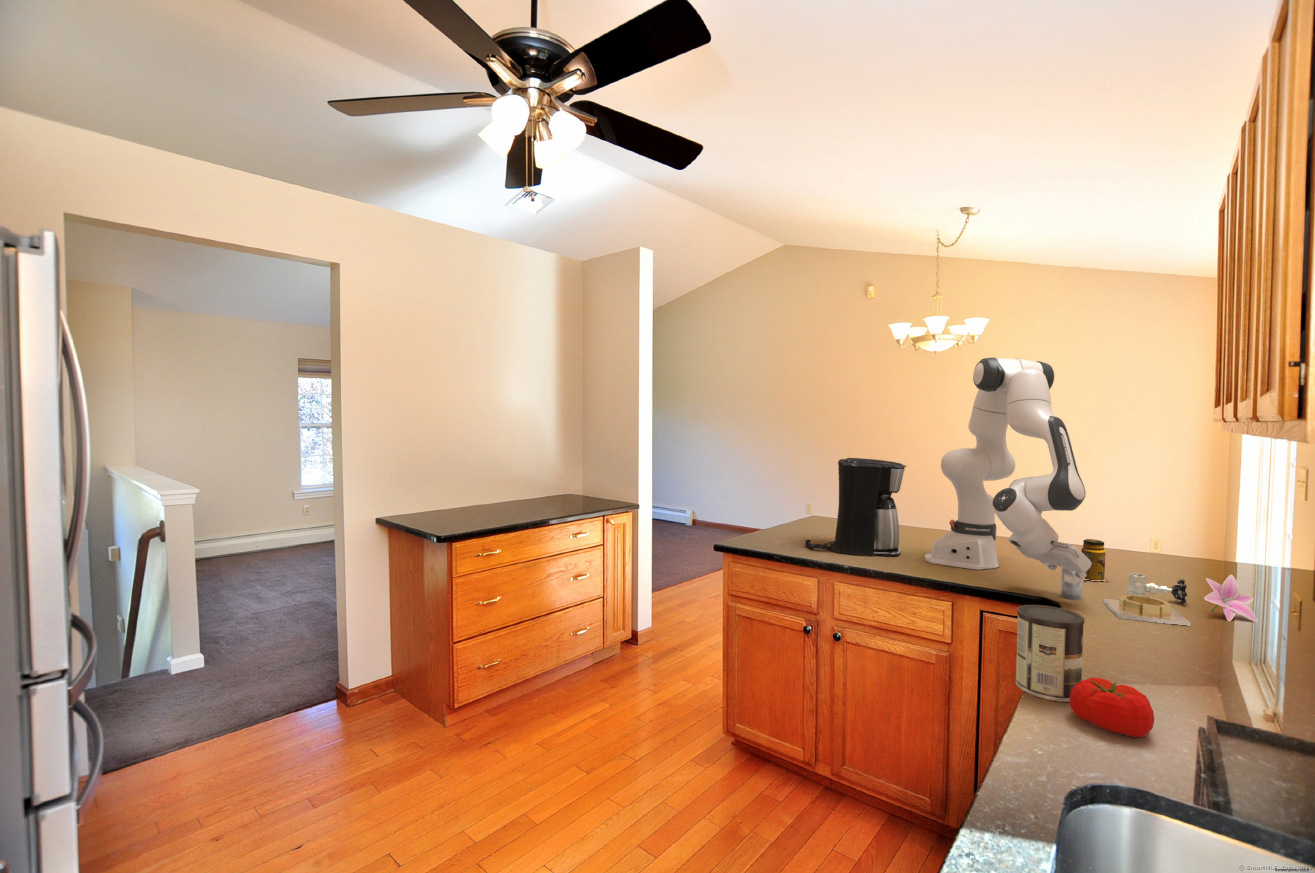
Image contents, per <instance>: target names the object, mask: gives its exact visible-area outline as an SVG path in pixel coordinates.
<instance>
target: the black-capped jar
mask: <svg viewBox="0 0 1315 873" xmlns="http://www.w3.org/2000/svg"><path fill="white" fill-rule="evenodd" d="M1075 573H1076V572H1075V571H1073V570H1069V569H1066V568H1062V567H1061V580H1060V581H1061V582H1060V597H1063V598H1065V599H1068V600H1082V599H1083V597H1082V596H1083V581H1082V579H1081V578H1078V577H1077V576H1076V575H1075Z"/></svg>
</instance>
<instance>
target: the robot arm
mask: <svg viewBox="0 0 1315 873" xmlns="http://www.w3.org/2000/svg"><path fill="white" fill-rule="evenodd" d="M972 380H973V381H972V382H973V384H974V385H975V387H976V389H978V390H977V393H976V396H975V398H974V402H973V405H972V410H971V414H970V418H969V423H968V431H969V432H970V433H971V435H973V436H974V437H975V439H976V441H975V442H976V446H975V448H974V447H973V448H971V447H970V448H967V447H966V448H963V447H962V448H956V449H953V450H950V451H947V452H946V453H944V454H943V456H942V458H941V460H940V461H941V462H940V469H941V471H942V474H943V475H944V476H945V477H946V478H947V479H948V480H949V481H950V482H951V484H952V485H953V487H954V490H955V493H956V497H957V520H955V519H950V520H949V525H950V531H948V532H947V533H945V534H943V535H942V536H940V537H939V538H937V539H936V540H935V541H934V542H933V545H932V548H931V552H927V553H926V554H925V555H924V560H925V561H926V562H927V563H930V564H935V565H941V566H947V567H956V568H963V569H971V570H976V571H977V570H978V571H979V570H986V569H996V568H998V567H1000V564H999V561H998V556H997V549H996V540H997V524H996V517H998V519H999V520H1000V521H1001V524H1003V525H1004V527H1005V528H1006V529H1007V530H1008V531H1010V532H1011V533H1012V534H1010V536H1009V537H1008V539H1007V540H1008V542H1009V543H1010V544H1011V545H1014V547H1015V548H1016V549H1017V550H1018V551H1019V552H1020V553H1021V554H1022V555H1023V556H1025V557H1026V558H1029V559H1033V560H1036V561H1038V562H1039V563H1042V564H1043V565H1045V566H1046V567H1047V569H1049V570H1052V571H1055V570H1056V569H1057V568H1058V567H1060V568H1061V569H1062V568H1066V569H1069V570H1073V571H1075V572H1076V573H1075V575H1076V576H1077V577H1078V578H1081V579H1084V578H1085V577H1086V576H1087V574H1086V573H1085V572H1086V571H1087V570H1088V569H1089V568H1090V567H1091V564H1092V563H1091V561H1090V560H1089V559H1088V558H1087V557H1086V556H1085V555H1084V554H1083V553H1082V552H1081V550H1080V549H1079V548H1077V547H1076V546H1074V545H1073V544H1070V543H1066V542H1061V541H1059V534H1058V533H1057V531H1055V529H1054V528H1053V526H1052V525H1051V524H1050V523H1049V522H1048V521H1047V520H1046V519H1045V518H1043V517H1042V514H1043V512H1050V511H1058V512H1059V511H1060V512H1061V511H1067V512H1068V511H1075V510H1076V509H1078V507H1080V505H1081V504H1082V503H1083V502H1084V500H1085V499H1086V488H1085V485H1084V482H1083V480H1082V478H1081V475H1080V472H1079V470H1078V466H1077V463H1076V458H1075V455H1074V451H1073V447H1072V443H1071V439H1070V435H1069V432H1068V429H1067V427H1066V425H1065V423H1064V421H1063V420H1062V418H1060V417H1057V416H1056V415H1055V414H1054V412H1053V410H1052V398H1051V392H1050V390H1051V388H1052V387H1053V384H1054V381H1055V371H1054V369H1053V367H1052V365H1051V364H1049V363H1046V362H1043V361H1040V360H1037V361H1036V360H1035V361H1034V360H1029V359H1025V358H1024V359H1023V358H1016V357H1015V358H1007V357H1003V358H996V357H993V356H992V357H986V358H985V357H984V358H981V359H980V360H979V361H978V362H977V363H976V365H975V367H974V370H973V376H972ZM1008 426H1009V427H1011V429H1012V430H1013V431H1015V432H1016V433H1018V434H1020V435H1022V436H1025V437H1029V438H1030V437H1031V438H1035V439H1041V440H1044V441H1045V442H1046V444H1047V447H1048V451H1049V456H1050V461H1051V464H1052V472H1051V473H1049V474H1044V475H1037V476H1028V477H1027V476H1026V477H1022V478H1017V479H1015V480H1013V481H1012V482H1011V483H1010V485H1009V486H1008V487H1007V488H1003V489H1001V490H1000V491H998V492H997V493H996V494H995V496H994V497H993V496H992V495H990V494H989V493H987V490H986V488H985V485H984V482H986V481H987V482H990V481H995V482H996V481H999V480H1004V479H1006V478H1009V477H1010V476H1012V475H1013V473H1014V472H1015V469H1016V460H1015V457H1014V455H1013V454H1012V453H1011V452H1010V450H1009V449H1008V445H1007V431H1008Z"/></svg>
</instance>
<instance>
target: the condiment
mask: <svg viewBox="0 0 1315 873" xmlns="http://www.w3.org/2000/svg"><path fill="white" fill-rule="evenodd" d="M1082 542H1083V545H1082V548H1081V550H1080V551H1081V552H1082V553H1083V554H1084V555H1085V556H1086V557H1087V558H1088V559H1089V560H1090V561H1091V563H1092V564H1091V567H1090V568H1089V569H1088V570H1087V571H1086V572H1085V573H1086V574H1087V576H1086V577H1085V579H1089V580H1104V579H1105V572H1106V570H1105V569H1106V550H1105V542H1104V541H1102V540H1099V539H1094V538H1093V539H1092V538H1085V539H1084V540H1082Z"/></svg>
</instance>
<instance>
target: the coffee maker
mask: <svg viewBox="0 0 1315 873" xmlns="http://www.w3.org/2000/svg"><path fill="white" fill-rule="evenodd" d="M837 466H838V510H837V519H836V520H837V521H836V528H835V536H834V537H835V538H834V541H829V542H826V543H824V544H820V543H812V542H811V541H812V540H811V539H806V540H805V544H804V546H805V547H808V548H812V549H824V550H831V551H832V552H834V553H839V554H845V555H846V554H847V555H851V556H852V555H853V556H864V557H867V556H868V557H872V556H873V557H874V556H875V557H876V556H878V557H880V556H881V557H897V556H899V555H900V554H901V552H902V550H901V548H899V546H900V524H899V516H898V508H897V506H896V503H895V499H894V498H893V497H892V495H893V494H898V493H899V492H900V490H901V486H902V482H903V477H904V472H905V470H906V468H907V465H904V464H903V463H900V462H897V461H896V462H895V461H890V460H883V459H872V458H862V457H847V458H841V459H839V460H838V462H837Z"/></svg>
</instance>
